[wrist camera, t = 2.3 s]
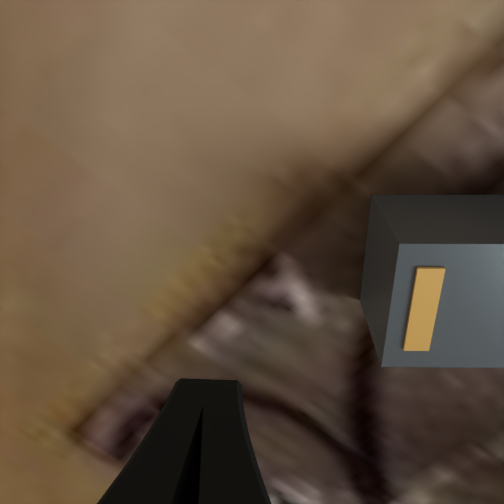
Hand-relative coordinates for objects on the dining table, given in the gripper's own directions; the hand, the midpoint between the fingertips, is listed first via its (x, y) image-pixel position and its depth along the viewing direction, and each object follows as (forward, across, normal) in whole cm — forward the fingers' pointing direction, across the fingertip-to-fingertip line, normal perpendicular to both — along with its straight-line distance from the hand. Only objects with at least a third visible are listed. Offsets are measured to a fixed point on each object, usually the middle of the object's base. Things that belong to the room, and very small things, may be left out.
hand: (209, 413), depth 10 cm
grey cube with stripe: (+9, -9, 0) cm, 12 cm away
